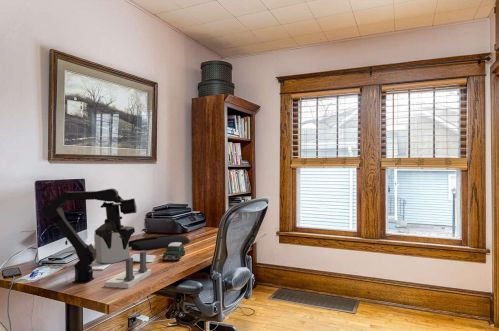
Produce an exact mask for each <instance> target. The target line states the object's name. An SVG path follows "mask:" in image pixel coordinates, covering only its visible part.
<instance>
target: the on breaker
mask: <svg viewBox="0 0 499 331" xmlns="http://www.w3.org/2000/svg"><path fill="white" fill-rule="evenodd" d="M138 269H139V270H138V272H145V271H147V270H148V269H149V268H148V267H147V250H143V251H140V252H139V268H138Z"/></svg>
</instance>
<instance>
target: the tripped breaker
mask: <svg viewBox="0 0 499 331" xmlns="http://www.w3.org/2000/svg"><path fill="white" fill-rule="evenodd" d="M133 268H134V257H130V256H129V258H127V259H125V271H126V277H125V278H124V280H126V281H131V280H132V279H134V278H135V276H133Z"/></svg>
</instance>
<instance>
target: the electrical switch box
mask: <svg viewBox="0 0 499 331" xmlns="http://www.w3.org/2000/svg"><path fill="white" fill-rule="evenodd" d="M124 227H128V226H127V225H123V228H124ZM121 229H122V228H121ZM116 231H117V230H116ZM119 236H121V235H120V234H119V233H112V242H111V248H110V249H108V247H107V245H106V243H105V241H104V239H103V238H101V237H99V236H98V235H96V229H95V230H94V236H93V237H94V238H93V240H94V249H96V253H97V256H96V259H95V261H97V263H102V264H115V263H119V262H121V261H124V260H125V261H126V259H127V258H130V247H129V245H128V244H127V247H126V249H125V250H124V249H123V245H122V239H121V238H120V237H119Z"/></svg>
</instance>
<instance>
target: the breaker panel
mask: <svg viewBox="0 0 499 331" xmlns="http://www.w3.org/2000/svg"><path fill="white" fill-rule="evenodd" d="M139 269H140V268H134V267H133V276H135V278H134V279H132V280H131V281H126V280H124V278H125V277H126V270H123V271H122V272H121V273H119V274H117V275H115V276H114V277H112V278H110V279H107V280H106V281H104V287H105V288H117V287H118V289H119V288H120V289H130V288H131V287H133V286H134V285H135V284H137V283H139V282H140V281H142V280H143V279H145V278H147V277H148V276H150V275H151V274H152V269H151V268H150V269H149V268H148V270H147V271H145V272H138V270H139Z"/></svg>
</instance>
